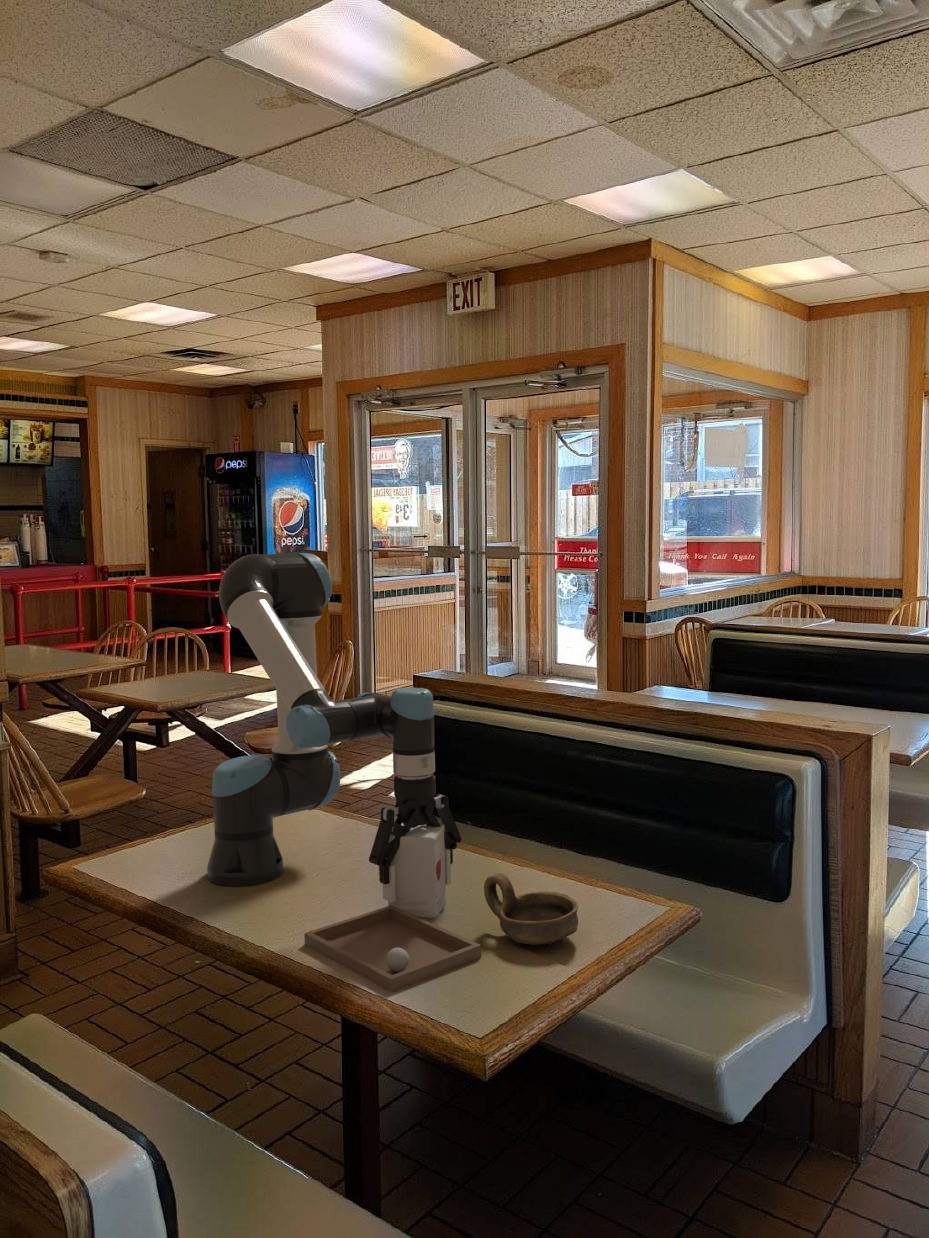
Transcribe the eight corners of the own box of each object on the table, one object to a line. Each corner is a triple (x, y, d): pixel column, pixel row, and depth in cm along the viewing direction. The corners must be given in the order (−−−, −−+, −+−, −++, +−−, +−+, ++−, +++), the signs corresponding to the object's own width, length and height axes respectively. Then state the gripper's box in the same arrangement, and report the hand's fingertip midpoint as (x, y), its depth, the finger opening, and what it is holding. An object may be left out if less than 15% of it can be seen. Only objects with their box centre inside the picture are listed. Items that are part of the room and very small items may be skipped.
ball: (381, 970, 157) (380, 948, 157) (400, 963, 160) (399, 941, 159) (395, 978, 154) (394, 955, 154) (414, 971, 157) (413, 948, 156)
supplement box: (436, 921, 178) (434, 838, 177) (387, 918, 180) (385, 836, 179) (447, 902, 187) (445, 823, 186) (400, 899, 189) (398, 821, 188)
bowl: (553, 964, 160) (552, 903, 159) (464, 939, 170) (463, 882, 169) (596, 935, 171) (595, 878, 170) (510, 914, 181) (509, 859, 180)
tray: (304, 947, 168) (304, 933, 168) (391, 918, 180) (391, 905, 180) (391, 995, 150) (391, 979, 150) (481, 959, 162) (481, 944, 162)
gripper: (371, 790, 171) (375, 914, 173) (478, 766, 187) (481, 880, 189) (346, 783, 176) (350, 902, 178) (452, 760, 192) (455, 870, 194)
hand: (417, 891), depth 183 cm, fingers closed on supplement box, 12 cm apart
